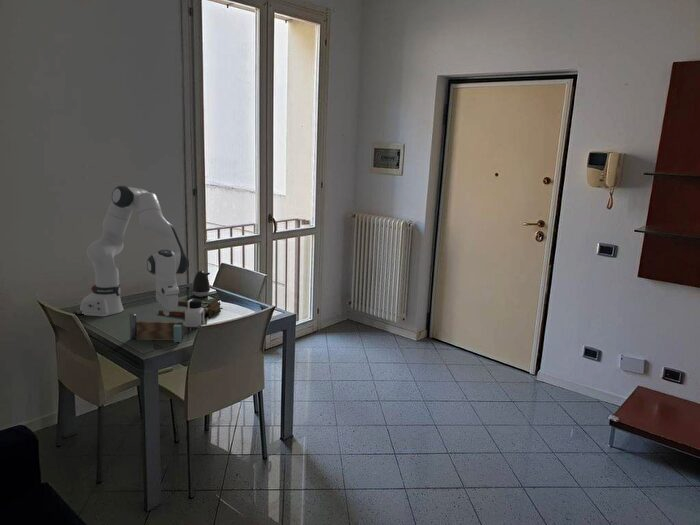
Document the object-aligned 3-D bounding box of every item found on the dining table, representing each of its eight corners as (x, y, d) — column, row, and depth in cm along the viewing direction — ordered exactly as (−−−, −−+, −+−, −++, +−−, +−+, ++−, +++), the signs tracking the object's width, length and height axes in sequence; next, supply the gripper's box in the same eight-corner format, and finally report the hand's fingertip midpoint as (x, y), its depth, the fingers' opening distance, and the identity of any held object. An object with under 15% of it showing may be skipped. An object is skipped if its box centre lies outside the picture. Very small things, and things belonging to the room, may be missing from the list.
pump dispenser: (208, 298, 304) (208, 273, 300) (190, 297, 303) (189, 272, 300) (212, 293, 314) (211, 269, 310) (194, 292, 313) (194, 268, 310)
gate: (137, 338, 238) (136, 322, 236) (138, 337, 239) (137, 321, 237) (182, 339, 240) (182, 323, 238) (183, 338, 241) (182, 321, 240)
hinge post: (129, 340, 237) (128, 315, 234) (131, 338, 239) (130, 313, 237) (136, 340, 237) (135, 315, 234) (138, 338, 240) (137, 313, 237)
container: (204, 322, 265) (204, 298, 262) (200, 327, 258) (200, 302, 255) (189, 321, 265) (188, 297, 262) (184, 326, 257) (184, 301, 254)
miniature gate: (180, 296, 295) (229, 298, 289) (181, 305, 296) (230, 307, 290) (153, 310, 269) (207, 312, 263) (154, 320, 270) (208, 323, 264)
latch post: (173, 343, 237) (173, 326, 235) (175, 340, 240) (174, 324, 238) (180, 343, 237) (180, 326, 235) (181, 340, 240) (181, 324, 238)
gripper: (152, 280, 242) (152, 309, 245) (166, 292, 226) (166, 322, 229) (165, 279, 246) (165, 307, 249) (180, 291, 230) (180, 320, 233)
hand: (166, 314), depth 239 cm, fingers closed
